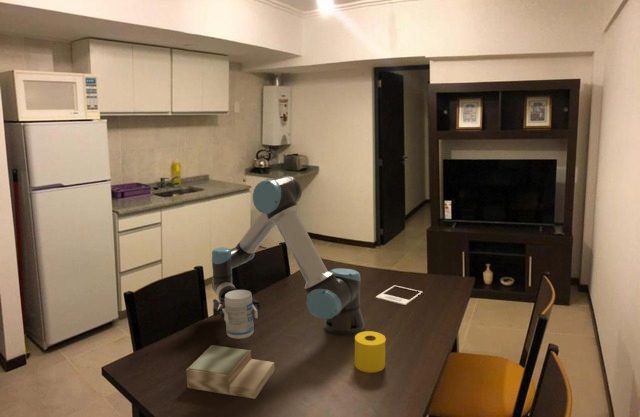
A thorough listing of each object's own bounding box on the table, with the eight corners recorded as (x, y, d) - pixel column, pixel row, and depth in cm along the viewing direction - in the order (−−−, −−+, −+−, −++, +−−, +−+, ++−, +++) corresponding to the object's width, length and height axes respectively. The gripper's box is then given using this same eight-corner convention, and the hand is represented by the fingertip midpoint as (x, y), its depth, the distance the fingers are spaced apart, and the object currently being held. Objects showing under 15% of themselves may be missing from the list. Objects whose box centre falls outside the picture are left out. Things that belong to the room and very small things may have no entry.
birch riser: (274, 370, 154) (274, 352, 153) (255, 398, 139) (254, 379, 138) (212, 361, 160) (211, 344, 159) (187, 387, 145) (186, 368, 144)
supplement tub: (254, 338, 166) (253, 297, 163) (227, 341, 164) (224, 300, 161) (252, 326, 175) (250, 288, 172) (225, 329, 173) (223, 290, 170)
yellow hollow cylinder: (354, 356, 163) (354, 331, 161) (383, 357, 163) (384, 331, 161) (355, 372, 154) (355, 345, 152) (386, 372, 153) (387, 345, 151)
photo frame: (375, 296, 215) (394, 284, 229) (375, 298, 215) (394, 287, 230) (405, 303, 207) (422, 291, 221) (405, 306, 207) (422, 293, 221)
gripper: (256, 299, 189) (273, 321, 169) (199, 308, 181) (210, 333, 160) (255, 281, 187) (272, 301, 167) (198, 289, 179) (208, 311, 159)
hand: (242, 316), depth 164 cm, fingers closed on supplement tub, 9 cm apart
